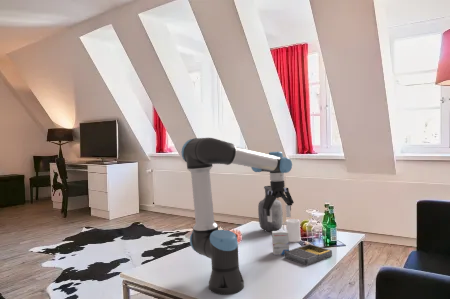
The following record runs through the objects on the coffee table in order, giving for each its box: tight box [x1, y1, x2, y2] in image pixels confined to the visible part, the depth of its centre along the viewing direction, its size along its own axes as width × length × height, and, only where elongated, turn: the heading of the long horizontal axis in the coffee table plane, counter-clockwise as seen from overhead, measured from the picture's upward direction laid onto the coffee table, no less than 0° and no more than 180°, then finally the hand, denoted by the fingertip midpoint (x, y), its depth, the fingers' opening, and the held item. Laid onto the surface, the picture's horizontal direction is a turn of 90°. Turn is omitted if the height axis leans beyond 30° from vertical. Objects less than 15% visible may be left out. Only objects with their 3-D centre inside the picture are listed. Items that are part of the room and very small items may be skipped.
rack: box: [284, 243, 333, 266], centre depth 178 cm, size 19×15×3 cm
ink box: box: [271, 230, 290, 256], centre depth 186 cm, size 9×5×12 cm, turn 84°
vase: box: [257, 185, 284, 233], centre depth 230 cm, size 16×16×30 cm
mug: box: [282, 218, 302, 243], centre depth 209 cm, size 12×8×12 cm
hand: (279, 219), depth 186 cm, fingers open, 13 cm apart
